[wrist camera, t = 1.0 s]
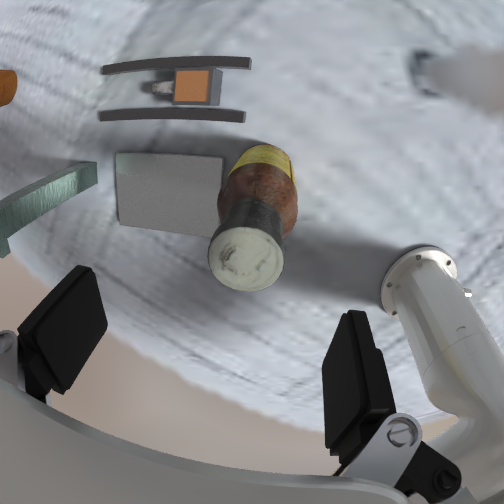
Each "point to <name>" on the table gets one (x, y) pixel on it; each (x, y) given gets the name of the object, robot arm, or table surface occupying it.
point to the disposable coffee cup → (7, 86)
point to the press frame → (140, 171)
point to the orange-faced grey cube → (192, 86)
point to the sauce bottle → (254, 220)
